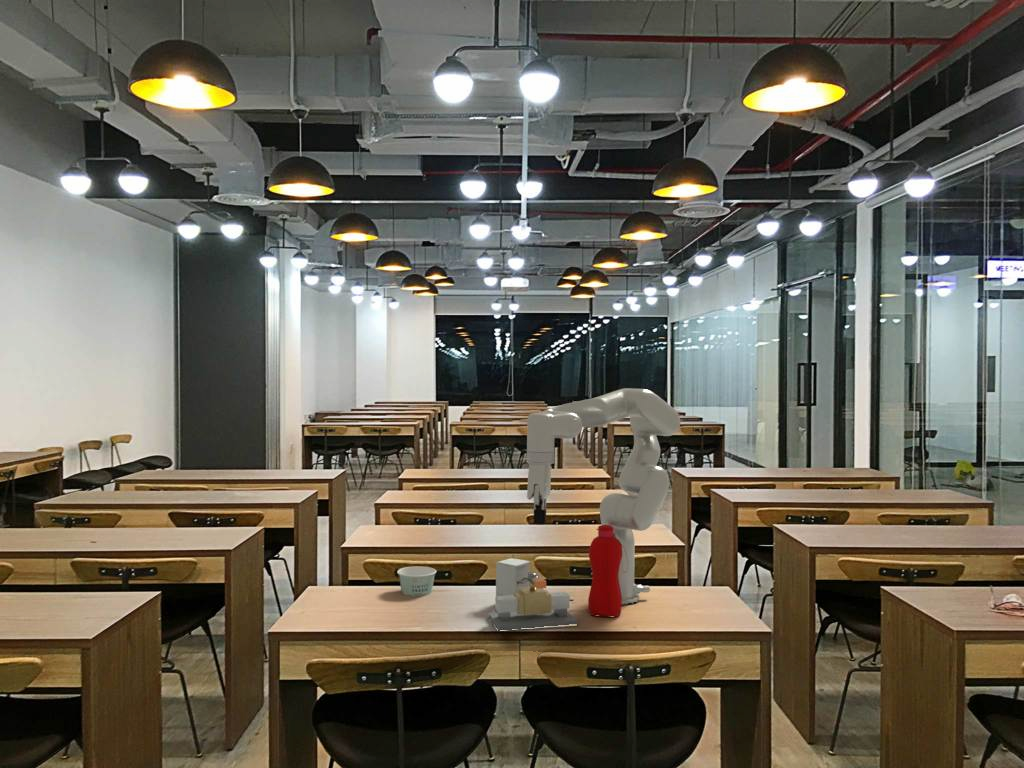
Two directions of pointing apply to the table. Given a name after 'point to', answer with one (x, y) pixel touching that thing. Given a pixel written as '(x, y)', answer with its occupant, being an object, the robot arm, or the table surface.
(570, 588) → the table surface
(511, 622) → the mounting board
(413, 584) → the food container
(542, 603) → the pipe valve
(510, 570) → the supplement box
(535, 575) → the valve lever
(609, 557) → the water bottle
